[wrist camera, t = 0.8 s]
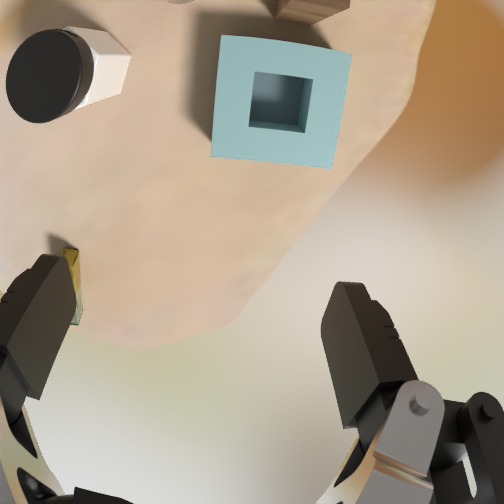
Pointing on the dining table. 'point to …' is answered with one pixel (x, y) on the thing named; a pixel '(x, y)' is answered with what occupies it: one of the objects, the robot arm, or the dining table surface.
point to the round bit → (179, 1)
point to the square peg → (309, 9)
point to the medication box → (75, 280)
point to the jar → (64, 72)
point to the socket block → (278, 101)
